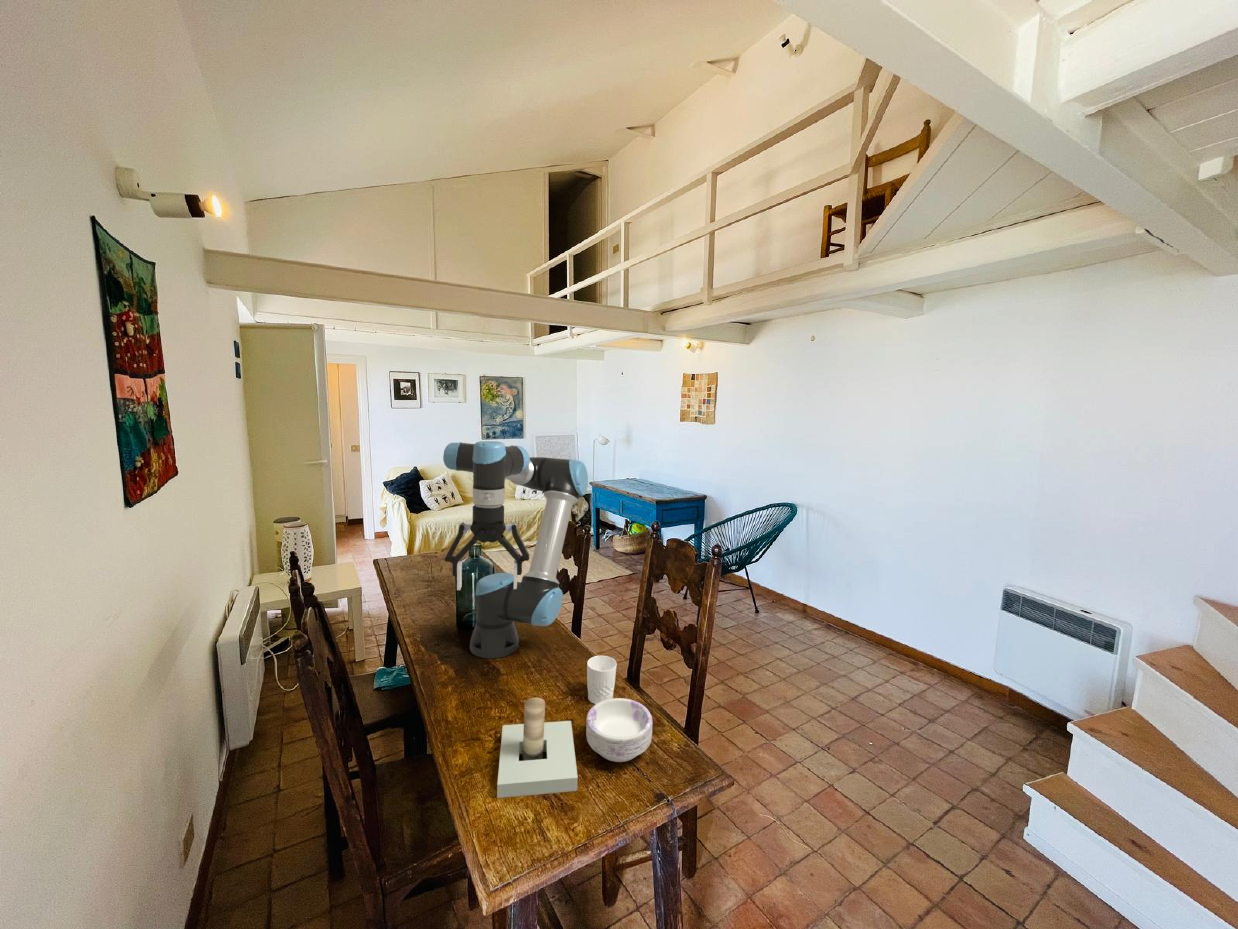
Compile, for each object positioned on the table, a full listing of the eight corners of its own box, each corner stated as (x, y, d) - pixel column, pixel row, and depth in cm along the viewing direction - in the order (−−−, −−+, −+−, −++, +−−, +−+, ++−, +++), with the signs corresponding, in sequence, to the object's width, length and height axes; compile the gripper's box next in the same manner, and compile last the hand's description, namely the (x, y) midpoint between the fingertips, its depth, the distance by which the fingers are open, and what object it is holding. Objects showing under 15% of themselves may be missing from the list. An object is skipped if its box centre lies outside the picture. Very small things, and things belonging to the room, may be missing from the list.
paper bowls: (574, 737, 117) (575, 706, 116) (629, 719, 124) (631, 690, 123) (604, 782, 104) (606, 747, 103) (663, 759, 111) (665, 726, 110)
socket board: (502, 737, 116) (502, 725, 115) (570, 732, 119) (571, 720, 118) (497, 798, 98) (497, 784, 98) (577, 790, 101) (577, 777, 101)
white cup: (601, 685, 138) (602, 652, 137) (620, 698, 133) (622, 664, 132) (579, 696, 133) (581, 662, 132) (599, 710, 127) (601, 674, 126)
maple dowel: (522, 755, 110) (524, 697, 108) (542, 754, 111) (545, 696, 109) (521, 771, 106) (523, 711, 104) (543, 769, 106) (545, 709, 105)
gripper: (432, 507, 115) (432, 594, 118) (540, 508, 119) (538, 592, 122) (438, 500, 122) (438, 582, 125) (539, 501, 126) (537, 581, 129)
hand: (487, 587), depth 123 cm, fingers open, 13 cm apart
